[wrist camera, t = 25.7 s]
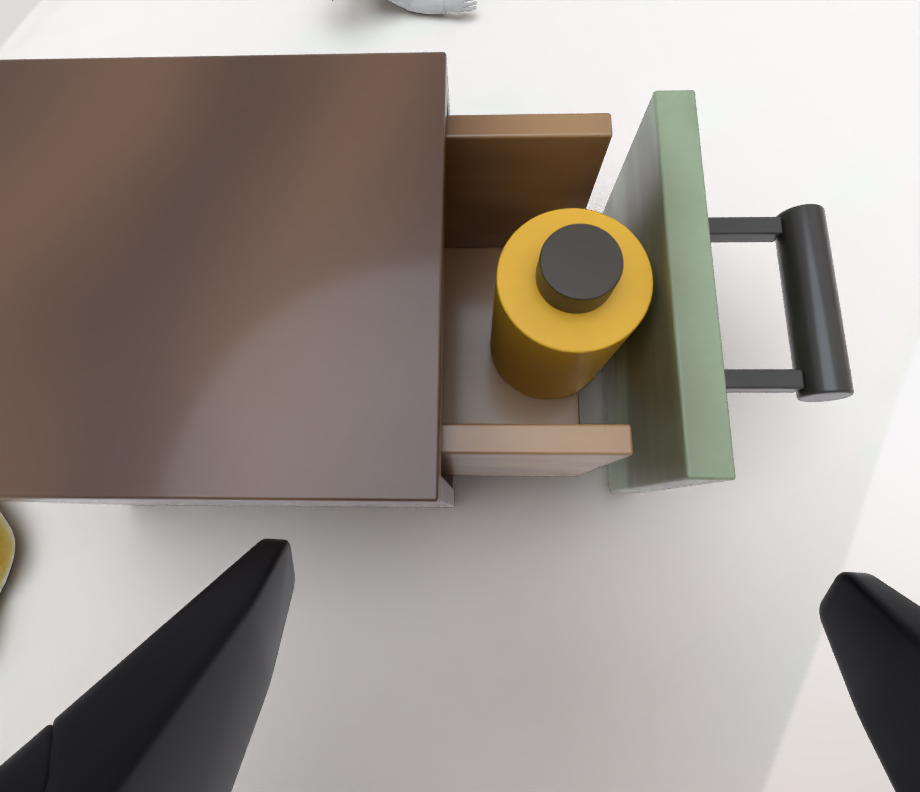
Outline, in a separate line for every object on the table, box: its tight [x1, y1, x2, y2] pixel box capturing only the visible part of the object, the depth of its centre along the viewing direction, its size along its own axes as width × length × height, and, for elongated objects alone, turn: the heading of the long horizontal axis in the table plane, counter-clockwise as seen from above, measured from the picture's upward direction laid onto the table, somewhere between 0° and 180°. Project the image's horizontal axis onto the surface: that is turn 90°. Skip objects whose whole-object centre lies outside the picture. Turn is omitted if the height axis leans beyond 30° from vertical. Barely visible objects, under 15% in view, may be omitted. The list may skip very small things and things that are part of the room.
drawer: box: [441, 90, 854, 493], centre depth 18 cm, size 17×11×8 cm, turn 90°
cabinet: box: [0, 52, 455, 507], centre depth 18 cm, size 13×12×9 cm
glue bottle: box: [490, 208, 653, 399], centre depth 17 cm, size 4×4×7 cm
